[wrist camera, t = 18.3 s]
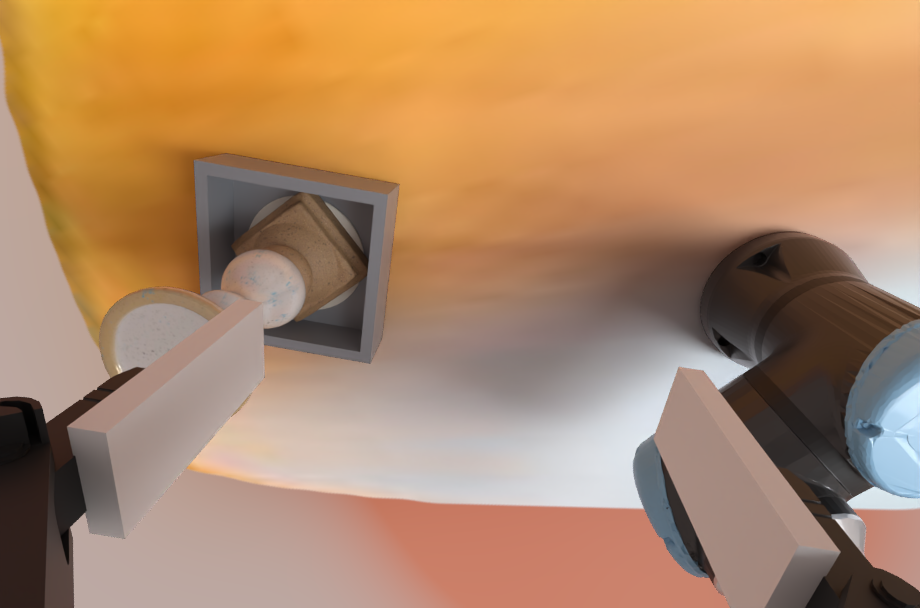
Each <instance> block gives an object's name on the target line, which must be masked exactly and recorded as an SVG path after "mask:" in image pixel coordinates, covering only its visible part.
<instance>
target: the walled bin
mask: <svg viewBox="0 0 920 608" xmlns="http://www.w3.org/2000/svg"><path fill="white" fill-rule="evenodd" d="M194 175H195V195H196V215H197V235H198V255H199V275H200V295H202V294H204V293H206V292H209V291H212V290H221V280H222V276H223V273H224V271H225V269H226V267H227V266H228V264H229V263H230V262H231V261H232V260H233V259H234V258H235V257H237V255H236V253H235V252H234V250H233V249H232V247H231V245H232V244H233V243H234V242H235V241H236V240H237V239H238V238H239V237H240V236H242V235H243V234H244V233H245V232H247V231H248V230H249V229H251V228H252V227H253V226H255V225H256V224H257V223H259V222H260V221H261V220H262V219H264V218H265V217H266V216H268V215H269V214H270V213H272V212H273V211H274V210H276V209H277V208H278V207H279V206H281V205H282V204H283V203H285V202H286V201H287V200H289V199H290V198H291V197H293V196H294V195H296V194H297V193H299V192H304V193H310V194H315V195H319V196H320V197H321V199H322V200H323V201H324V202H325V204H326V205H327V206H328V207H329V209H330V210H331V211H332V213H333V214H334V215H335V217H336V218H337V219H338V220H339V222H340V223H341V224H342V226H343V227H344V228H345V230H346V231H347V232H348V233H349V235H350V236H351V237H352V239H353V240H354V241H355V243H356V244H357V245H358V246H359V248H360V249H361V250H362V252H363V253H364V254H365V256H366V257H367V259H368V260H369V264H368V274H367V276H366V277H365V278H364V279H363V280H361V281H360V282H359V283H357V284H356V285H354V286H353V287H351V288H350V289H348V290H347V291H345V292H344V293H342V294H341V295H339V296H338V297H336V298H335V299H333V300H332V301H330V302H329V303H327V304H326V305H324V306H323V307H321V308H320V309H318V310H317V311H315V312H314V313H312V314H311V315H309V316H308V317H306V318H304V319H302V320H300V321H298V322H296V321H295V320H291V321H290V322H288V323H286V324H285V325H282V326H279V327H276V328H270V329H264V345H268V346H274V347H279V348H285V349H290V350H296V351H302V352H307V353H313V354H319V355H324V356H330V357H335V358H341V359H347V360H352V361H358V362H364V363H369V364H370V363H371V361H372V359H373V357H374V355H375V352H376V350H377V348H378V346H379V344H380V342H381V340H382V335H383V326H384V317H385V308H386V299H387V290H388V282H389V273H390V264H391V255H392V246H393V238H394V229H395V220H396V211H397V202H398V193H399V185H400V184H396V183H390V182H384V181H379V180H373V179H368V178H362V177H356V176H351V175H345V174H340V173H334V172H328V171H323V170H317V169H311V168H306V167H300V166H295V165H289V164H283V163H278V162H272V161H267V160H261V159H255V158H250V157H244V156H239V155H233V154H227V153H225V154H220V155H216V156H211V157H206V158H201V159H196V160H194Z"/></svg>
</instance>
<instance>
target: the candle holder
mask: <svg viewBox="0 0 920 608" xmlns="http://www.w3.org/2000/svg"><path fill="white" fill-rule="evenodd" d="M231 247H232V249H233V250H234V252H235V253H236V255H237V257H235V258H234V259H233V260H232V261H231V262H230V263H229V264H228V266H227V267H226V269H225V271H224V273H223V276H222V280H221V290H212V291H209V292H206V293H204V294H202V295H199V294H196V293H194V292H192V291H188V290H184V289H181V288H174V287H150V288H145V289H140V290H138V291H135V292H133V293H130V294H128V295H126V296H125V297H123V298H122V299H120V300H119V301H117V302H116V303H115V304H114V305H113V306H112V307H111V308H110V309H109V311H108V312H107V314H106V315H105V317H104V319H103V322H102V325H101V328H100V334H99V346H100V352H101V357H102V360H103V363H104V365H105V368H106V370H107V372H108V374H109V375H110V378H112V377H113V376H115V375H117V374H120V373H122V372H125V371H127V370H130V369H132V368H135V367H141V368H147V367H148V366H149V365H151V364H152V363H153V362H155V361H156V360H157V359H159V358H160V357H161V356H163V355H164V354H165V353H167V352H168V351H169V350H171V349H172V348H173V347H175V346H176V345H177V344H179V343H180V342H181V341H183V340H184V339H186V338H187V337H188V336H190V335H191V334H192V333H194V332H195V331H196V330H198V329H199V328H200V327H202V326H203V325H204V324H206V323H207V322H208V321H210V320H211V319H212V318H214V317H215V316H216V315H218V314H219V313H221V312H222V311H223V310H225V309H226V308H227V307H229V306H230V305H231V304H233V303H234V302H235V301H237V300H238V299H244V300H251V301H257V302H263V329H270V328H276V327H279V326H282V325H285V324H286V323H288V322H290V321H291V320H295V321H296V322H298V321H300V320H302V319H304V318H306V317H308V316H309V315H311V314H312V313H314V312H315V311H317V310H318V309H320V308H321V307H323V306H324V305H326V304H327V303H329V302H330V301H332V300H333V299H335V298H336V297H338V296H339V295H341V294H342V293H344V292H345V291H347V290H348V289H350V288H351V287H353V286H354V285H356V284H357V283H359V282H360V281H361V280H363V279H364V278H365V277H366V276H367V274H368V264H369V260H368V259H367V257H366V256H365V254H364V253H363V252H362V250H361V249H360V248H359V246H358V245H357V244H356V243H355V241H354V240H353V239H352V237H351V236H350V235H349V233H348V232H347V231H346V230H345V228H344V227H343V226H342V224H341V223H340V222H339V220H338V219H337V218H336V217H335V215H334V214H333V213H332V211H331V210H330V209H329V207H328V206H327V205H326V204H325V202H324V201H323V200H322V199H321V197H320V196H319V195H315V194H310V193H304V192H299V193H297V194H296V195H294V196H293V197H291V198H290V199H289V200H287V201H286V202H285V203H283V204H282V205H281V206H279V207H278V208H277V209H276V210H274V211H273V212H272V213H270V214H269V215H268V216H266V217H265V218H264V219H262V220H261V221H260V222H259V223H257V224H256V225H255V226H253V227H252V228H251V229H249V230H248V231H247V232H245V233H244V234H243V235H242V236H240V237H239V238H238V239H237V240H236V241H235V242H234V243H233V244H232V245H231ZM251 394H252V393H251ZM251 394H250V395H249V396H248V397H247V398H246V400H245V401H244V402H243V403H242V404H241V405H240V406H239V408H238V409H237V410H236V411H235V412H234V413H233V415H234V414H235V413H237V412H238V411H239V410H240V409H241V408H242V407H243V406H244V405H245V404H246V402H247V401H248V399H249V397H250V396H251ZM233 415H232V416H233ZM232 416H231V417H232Z"/></svg>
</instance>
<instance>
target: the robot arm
mask: <svg viewBox="0 0 920 608" xmlns="http://www.w3.org/2000/svg"><path fill="white" fill-rule="evenodd" d="M700 313H701V321H702V325H703V327H704V330H705V332H706V334H707V336H708V337H709V339H710V340H711V341H712V342H713V343H714V345H715V346H716V347H717V348H718V349H719V350H720V351H721V352H722V353H723V354H724V355H725V356H726V357H728V358H729V359H731V360H732V361H734V362H736V363H738V364H740V365H742V366H745V367H747V368H750V370H748V371H747V372H745V373H744V374H741V375H740V376H738V377H737V378H735V379H734V380H732V381H731V382H729V383H728V384H726V385H725V386H723V387H722V388H720V389H719V390H718V389H717V388H716V387H715V385H714V384H713V383H712V381H711V380H710V379H709V377H708V376H707V375H706V373H705V372H704V371H702V370H695V369H689V368H682V367H679V368H678V370H677V373H676V376H675V379H674V382H673V385H672V388H671V390H670V393H669V396H668V399H667V402H666V405H665V407H664V410H663V413H662V416H661V419H660V422H659V425H658V427H657V430H656V433H655V434H653V435H652V436H651V437H649V438H648V439H647V440H645V441H644V442H643V443H641V444H640V446H639V447H638V448H637V450H636V453H635V457H634V460H633V473H634V479H635V484H636V488H637V491H638V494H639V497H640V500H641V502H642V505H643V507H644V509H645V512H646V514H647V516H648V518H649V520H650V522H651V524H652V526H653V528H654V529H655V531H656V533H657V535H658V536H659V537H661V538H663V539H664V542H665V544H666V547H667V550H668V551H669V553H670V554H671V555H672V557H673V558H674V559H675V561H676V562H677V563H678V564H679V565H680V566H681V567H682V568H683V569H684V570H686V571H687V572H688V573H690V574H692V575H694V576H696V577H705V578H710V579H711V581H712V583H713V585H714V586H715V588H716V590H717V591H718V592H719V593H720V594H721V595H724V596H725V598H726V600H727V602H728V604H729V607H730V608H920V592H919V591H918V590H917V589H916V588H914V587H913V586H911V585H910V584H908V583H907V582H905V581H904V580H902V579H901V578H899V577H897V576H895V575H893V574H891V573H889V572H887V571H884V570H882V569H878V568H874V567H873V566H872V565H871V564H870V563H869V561H868V560H867V559H866V558H865V555H864V545H865V535H866V526H865V524H864V523H863V521H862V520H861V518H860V517H859V516H858V515H857V514H856V513H855V512H854V511H853V509H852V508H851V507H850V506H849V505H848V504H847V501H849V500H850V499H851V498H853V497H855V496H857V495H858V494H860V493H862V492H864V491H866V490H868V489H870V488H872V487H874V486H875V487H878V488H880V489H881V490H884V491H886V492H889V493H891V494H893V495H897V496H900V497H906V498H920V308H919V307H917V306H915V305H913V304H910V303H908V302H906V301H904V300H902V299H900V298H898V297H896V296H894V295H892V294H890V293H888V292H886V291H884V290H882V289H879V288H877V287H875V286H873V285H871V284H869V283H868V281H867V280H866V278H865V277H864V276H863V274H862V273H861V272H860V270H859V269H858V268H857V266H856V265H855V263H854V262H853V260H852V259H851V258H850V257H849V256H848V255H847V254H846V253H845V252H844V251H842V250H841V249H840V248H838V247H837V246H835V245H833V244H831V243H829V242H827V241H825V240H823V239H820V238H818V237H815V236H812V235H809V234H805V233H798V232H782V233H774V234H770V235H766V236H762V237H760V238H757V239H754V240H752V241H750V242H748V243H746V244H744V245H742V246H741V247H739V248H738V249H736V250H735V251H733V252H732V253H731V254H730V255H728V256H727V257H726V258H725V259H724V260H723V261H722V262H721V263H720V264H719V265H718V267H717V268H716V269H715V270H714V272H713V273H712V275H711V276H710V278H709V280H708V282H707V284H706V286H705V288H704V291H703V295H702V299H701V306H700ZM264 378H265V370H264V329H263V302H257V301H251V300H244V299H238V300H237V301H235V302H234V303H233V304H231V305H230V306H229V307H227V308H226V309H225V310H223V311H222V312H221V313H219V314H218V315H216V316H215V317H214V318H212V319H211V320H210V321H208V322H207V323H206V324H204V325H203V326H202V327H200V328H199V329H198V330H196V331H195V332H194V333H192V334H191V335H190V336H188V337H187V338H186V339H184V340H183V341H181V342H180V343H179V344H177V345H176V346H175V347H173V348H172V349H171V350H169V351H168V352H167V353H165V354H164V355H163V356H161V357H160V358H159V359H157V360H156V361H155V362H153V363H152V364H151V365H149V366H148V367H147V368H141V367H135V368H132V369H130V370H127V371H125V372H122V373H120V374H117V375H115V376H113V377H112V378H110V379H109V380H107V381H106V382H105V383H103V384H102V385H100V386H99V387H98V388H97V390H93V391H92V392H90V393H89V394H87V395H86V396H85V397H84V398H83V400H79V401H78V402H76V403H75V404H73V405H72V406H70V407H69V408H68V409H66V410H65V411H63V412H62V413H60V414H59V415H58V416H56V417H55V418H53V419H52V420H50V421H49V422H48V423H46V422H45V418H44V414H43V409H42V406H41V404H40V402H39V401H36V400H34V399H32V398H27V397H9V398H0V608H74V583H73V537H72V533H71V529H70V526H72V525H73V523H75V522H76V521H77V520H78V519H79V518H80V517H81V516H82V515H83V514H84V513H86V518H87V522H88V527H89V532H90V533H92V534H99V535H104V536H111V537H117V538H122V539H125V538H126V537H127V536H128V535H129V533H130V532H131V531H132V530H133V529H134V528H135V527H136V526H137V524H138V523H139V522H140V521H141V520H142V518H143V517H144V516H145V515H146V514H147V513H148V512H149V510H150V509H151V508H152V507H153V506H154V505H155V504H156V502H157V501H158V500H159V499H160V498H161V497H162V495H163V494H164V493H165V492H166V491H167V490H168V488H169V487H170V486H171V485H172V484H173V483H174V481H175V480H176V479H177V478H178V477H179V476H180V475H181V473H182V472H183V471H184V470H185V469H186V468H187V467H188V465H189V464H190V463H191V462H192V461H193V460H194V458H195V457H196V456H197V455H198V454H199V453H200V452H201V450H202V449H203V448H204V447H205V446H206V445H207V443H208V442H209V441H210V440H211V439H212V438H213V437H214V435H215V434H216V433H217V432H218V431H219V430H220V428H221V427H222V426H223V425H224V424H225V423H226V422H227V420H228V419H229V418H230V417H231V416H232V415H233V413H234V412H235V411H236V410H237V409H238V408H239V406H240V405H241V404H242V403H243V402H244V401H245V400H246V398H247V397H248V396H249V395H250V394H251V393H252V391H253V390H254V389H255V388H256V387H257V386H258V385H259V383H260V382H261V381H262V380H263V379H264ZM850 494H851V495H852V496H853V497H852V496H851V495H850Z"/></svg>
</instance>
